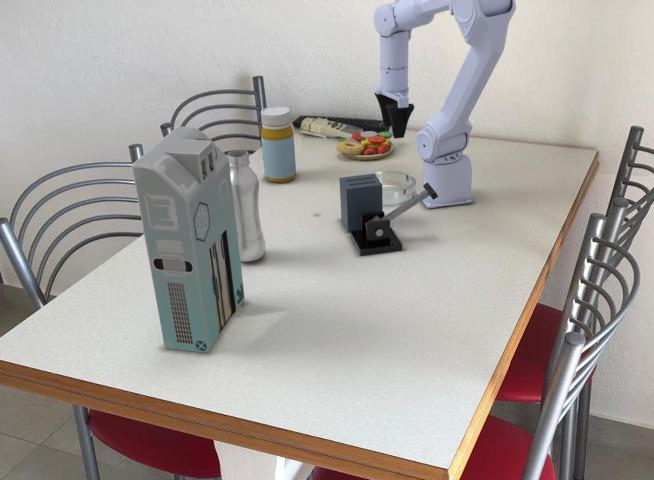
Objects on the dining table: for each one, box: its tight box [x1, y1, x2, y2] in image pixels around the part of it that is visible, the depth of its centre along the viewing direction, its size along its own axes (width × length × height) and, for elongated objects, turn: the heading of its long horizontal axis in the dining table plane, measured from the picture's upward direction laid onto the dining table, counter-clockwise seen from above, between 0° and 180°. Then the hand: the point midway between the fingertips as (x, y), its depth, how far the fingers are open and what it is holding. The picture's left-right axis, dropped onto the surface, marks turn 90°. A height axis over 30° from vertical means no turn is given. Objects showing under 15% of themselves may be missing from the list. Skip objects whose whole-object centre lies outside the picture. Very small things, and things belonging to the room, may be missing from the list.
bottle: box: [260, 105, 297, 184], centre depth 188 cm, size 7×7×15 cm
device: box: [131, 125, 246, 354], centre depth 133 cm, size 16×8×30 cm, turn 165°
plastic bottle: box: [227, 149, 266, 263], centre depth 155 cm, size 6×7×20 cm
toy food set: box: [335, 130, 395, 161], centre depth 203 cm, size 13×13×3 cm
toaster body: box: [339, 173, 384, 234], centre depth 168 cm, size 7×6×9 cm
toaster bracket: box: [349, 210, 403, 257], centre depth 162 cm, size 8×8×5 cm
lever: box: [365, 182, 438, 225], centre depth 161 cm, size 14×5×2 cm, turn 101°
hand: (393, 131), depth 184 cm, fingers open, 7 cm apart
